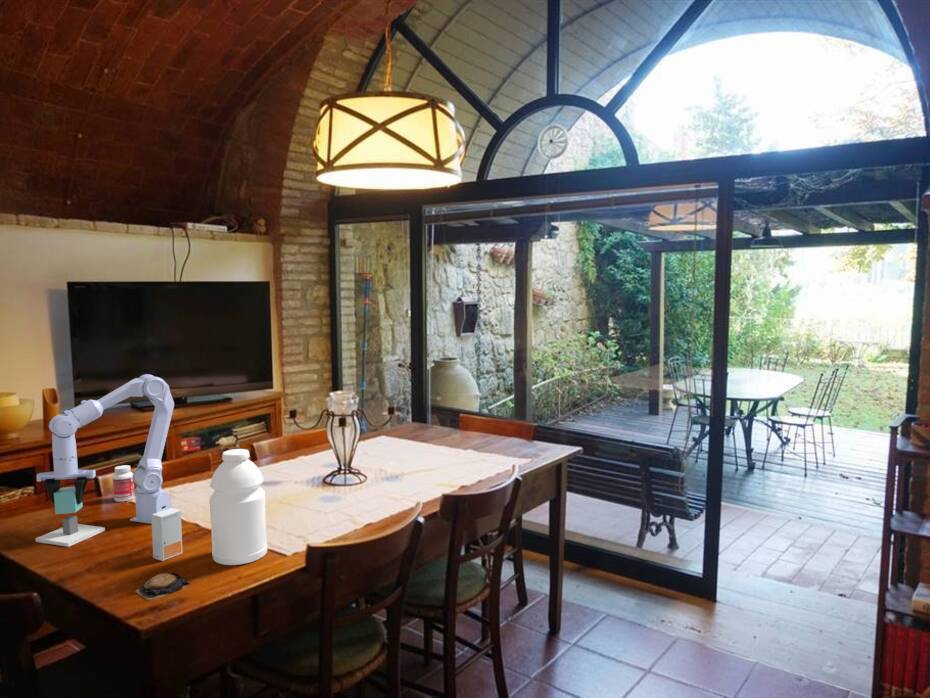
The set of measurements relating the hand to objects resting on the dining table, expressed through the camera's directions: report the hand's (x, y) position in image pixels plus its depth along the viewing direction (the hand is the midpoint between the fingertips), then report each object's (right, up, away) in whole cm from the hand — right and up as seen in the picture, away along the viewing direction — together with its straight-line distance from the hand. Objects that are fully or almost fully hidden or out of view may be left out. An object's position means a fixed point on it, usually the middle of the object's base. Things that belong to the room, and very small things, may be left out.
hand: (68, 503), depth 184 cm
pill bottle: (-1, -7, +33) cm, 33 cm away
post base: (0, -10, +1) cm, 10 cm away
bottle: (+53, -11, -13) cm, 56 cm away
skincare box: (+34, -11, -13) cm, 38 cm away
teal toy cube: (0, -2, 0) cm, 2 cm away
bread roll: (+42, -13, -31) cm, 54 cm away
